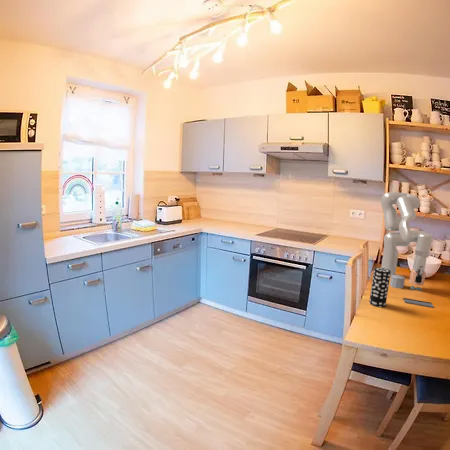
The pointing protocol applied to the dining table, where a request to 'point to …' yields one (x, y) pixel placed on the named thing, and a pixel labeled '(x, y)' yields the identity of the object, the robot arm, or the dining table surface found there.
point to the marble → (418, 288)
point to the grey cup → (397, 281)
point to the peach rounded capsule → (413, 277)
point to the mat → (418, 302)
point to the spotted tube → (379, 287)
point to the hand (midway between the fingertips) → (416, 280)
